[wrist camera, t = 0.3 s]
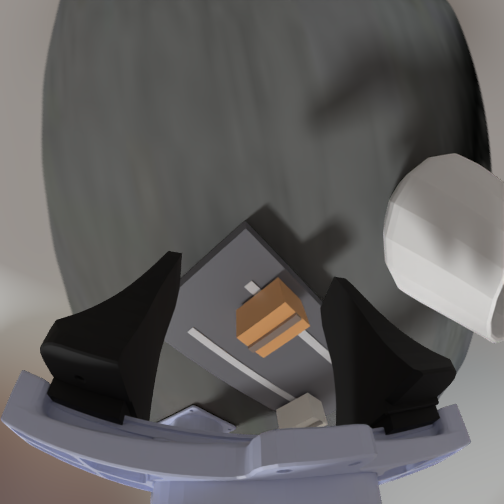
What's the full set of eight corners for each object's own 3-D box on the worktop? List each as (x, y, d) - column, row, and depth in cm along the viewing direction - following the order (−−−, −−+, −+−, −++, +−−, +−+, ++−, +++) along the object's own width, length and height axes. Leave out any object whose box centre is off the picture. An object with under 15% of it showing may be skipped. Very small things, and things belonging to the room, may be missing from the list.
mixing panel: (303, 415, 34) (305, 427, 32) (146, 310, 25) (141, 323, 24) (382, 366, 31) (388, 378, 29) (245, 220, 22) (245, 229, 21)
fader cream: (291, 417, 30) (295, 442, 27) (276, 409, 29) (280, 435, 26) (321, 401, 29) (328, 426, 26) (307, 392, 28) (314, 418, 25)
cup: (471, 244, 25) (553, 306, 12) (382, 299, 27) (451, 399, 14) (452, 130, 20) (569, 155, 7) (343, 179, 21) (459, 243, 9)
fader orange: (260, 330, 24) (263, 360, 20) (236, 310, 23) (236, 340, 19) (300, 299, 23) (311, 328, 19) (278, 277, 22) (285, 304, 18)
